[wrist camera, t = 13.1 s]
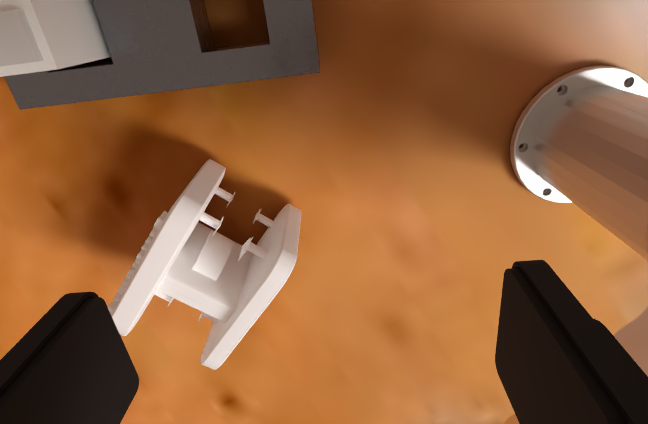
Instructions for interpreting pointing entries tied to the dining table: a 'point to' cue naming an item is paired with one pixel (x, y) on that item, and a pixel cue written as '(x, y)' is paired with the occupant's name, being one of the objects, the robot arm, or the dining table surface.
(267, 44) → the jack panel
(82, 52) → the plug
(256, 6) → the dining table surface
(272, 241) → the cable organizer
